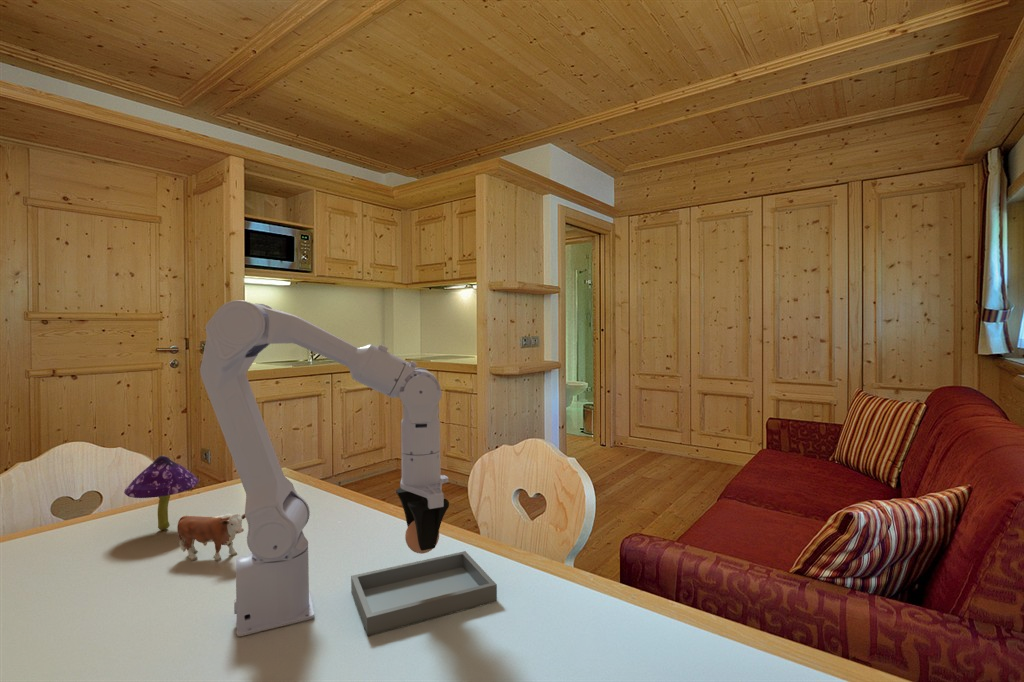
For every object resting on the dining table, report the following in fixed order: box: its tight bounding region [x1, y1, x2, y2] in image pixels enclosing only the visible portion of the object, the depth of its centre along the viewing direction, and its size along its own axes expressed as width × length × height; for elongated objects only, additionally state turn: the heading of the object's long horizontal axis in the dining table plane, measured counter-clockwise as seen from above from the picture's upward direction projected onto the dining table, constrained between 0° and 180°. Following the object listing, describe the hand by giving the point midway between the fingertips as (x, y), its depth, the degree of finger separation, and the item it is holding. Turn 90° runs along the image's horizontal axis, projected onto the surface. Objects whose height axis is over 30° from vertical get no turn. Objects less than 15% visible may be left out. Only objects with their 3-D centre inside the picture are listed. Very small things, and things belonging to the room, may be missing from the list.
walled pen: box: [350, 550, 498, 637], centre depth 76 cm, size 19×13×2 cm
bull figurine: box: [176, 512, 246, 562], centre depth 90 cm, size 4×13×8 cm, turn 78°
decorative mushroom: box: [123, 455, 200, 531], centre depth 102 cm, size 12×12×15 cm
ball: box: [405, 521, 440, 555], centre depth 76 cm, size 5×5×5 cm
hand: (422, 541), depth 76 cm, fingers closed on ball, 5 cm apart
